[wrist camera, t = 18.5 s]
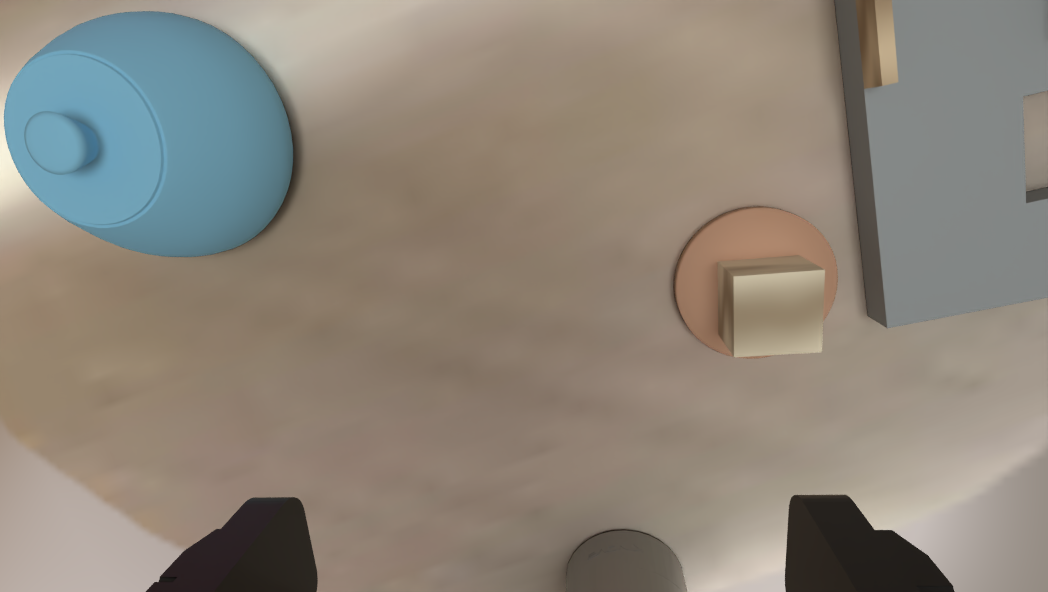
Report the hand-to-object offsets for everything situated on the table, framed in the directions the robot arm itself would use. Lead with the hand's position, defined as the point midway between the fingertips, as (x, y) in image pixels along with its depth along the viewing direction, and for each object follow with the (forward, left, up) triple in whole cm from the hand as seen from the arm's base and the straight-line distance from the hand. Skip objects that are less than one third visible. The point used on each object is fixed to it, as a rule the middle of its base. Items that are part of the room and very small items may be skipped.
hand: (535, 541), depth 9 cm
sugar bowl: (+12, +23, -30) cm, 40 cm away
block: (-7, -11, -29) cm, 32 cm away
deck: (+2, -26, -30) cm, 40 cm away
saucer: (-6, -11, -30) cm, 33 cm away
